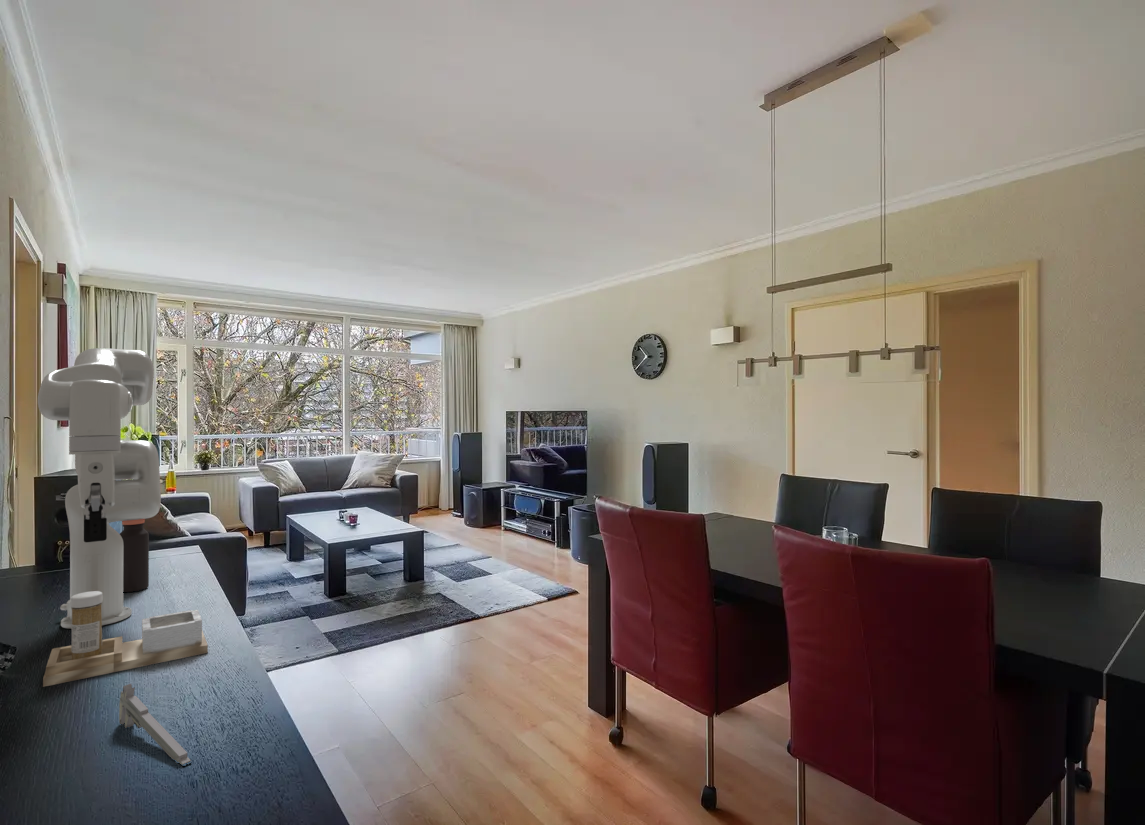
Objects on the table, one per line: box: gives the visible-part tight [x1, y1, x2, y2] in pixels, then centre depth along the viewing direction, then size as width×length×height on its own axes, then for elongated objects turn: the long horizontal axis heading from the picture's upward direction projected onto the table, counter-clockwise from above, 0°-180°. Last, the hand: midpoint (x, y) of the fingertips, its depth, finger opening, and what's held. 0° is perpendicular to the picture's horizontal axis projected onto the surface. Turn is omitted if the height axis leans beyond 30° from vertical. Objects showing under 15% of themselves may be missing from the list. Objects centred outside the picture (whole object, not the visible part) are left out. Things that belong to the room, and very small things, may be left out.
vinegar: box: [119, 519, 150, 593], centre depth 160 cm, size 7×7×20 cm
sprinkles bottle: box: [71, 591, 103, 660], centre depth 109 cm, size 5×5×14 cm
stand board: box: [42, 630, 209, 688], centre depth 113 cm, size 24×12×3 cm, turn 127°
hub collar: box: [141, 609, 203, 655], centre depth 117 cm, size 9×9×4 cm
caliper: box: [118, 683, 192, 765], centre depth 83 cm, size 20×1×6 cm, turn 57°
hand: (94, 537), depth 110 cm, fingers open, 9 cm apart
